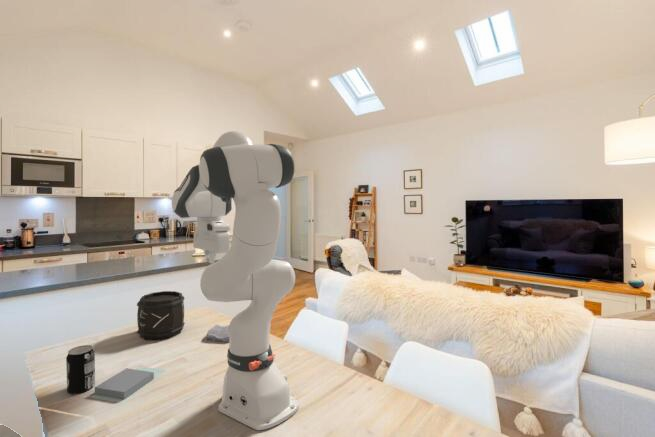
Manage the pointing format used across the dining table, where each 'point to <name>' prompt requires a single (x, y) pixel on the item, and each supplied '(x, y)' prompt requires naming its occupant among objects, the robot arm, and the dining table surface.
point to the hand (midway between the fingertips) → (210, 262)
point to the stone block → (219, 333)
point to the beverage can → (80, 369)
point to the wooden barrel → (160, 315)
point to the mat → (156, 374)
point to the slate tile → (124, 383)
